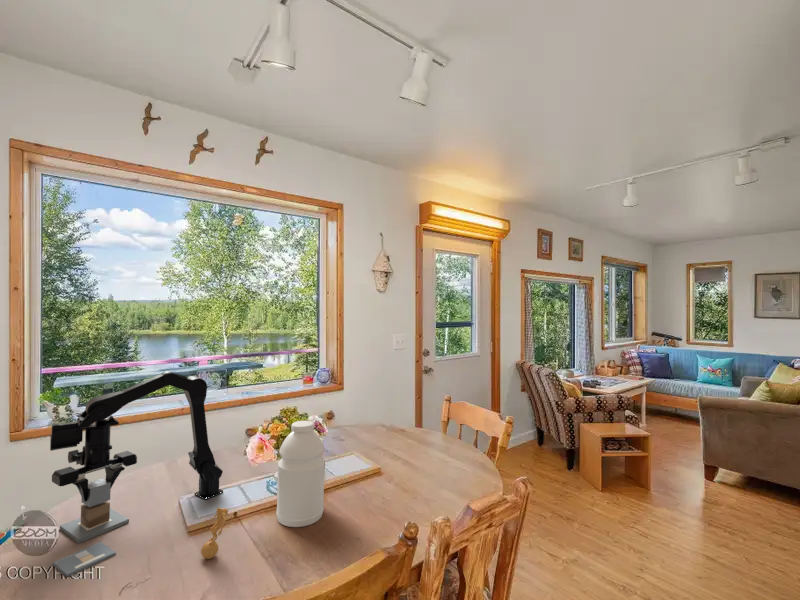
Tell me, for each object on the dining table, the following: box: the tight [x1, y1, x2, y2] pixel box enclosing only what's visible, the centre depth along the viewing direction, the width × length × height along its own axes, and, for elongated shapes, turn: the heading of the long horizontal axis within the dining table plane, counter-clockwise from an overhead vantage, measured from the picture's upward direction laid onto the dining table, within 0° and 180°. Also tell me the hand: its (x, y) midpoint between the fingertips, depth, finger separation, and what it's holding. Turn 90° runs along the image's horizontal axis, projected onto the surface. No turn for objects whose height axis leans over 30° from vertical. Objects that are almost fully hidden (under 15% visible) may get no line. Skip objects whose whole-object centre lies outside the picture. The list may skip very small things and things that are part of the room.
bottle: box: [275, 420, 326, 528], centre depth 121 cm, size 14×14×28 cm
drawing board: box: [52, 541, 117, 578], centre depth 98 cm, size 8×10×1 cm
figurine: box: [200, 507, 229, 560], centre depth 101 cm, size 8×6×12 cm
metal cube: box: [80, 477, 112, 507], centre depth 113 cm, size 5×5×5 cm
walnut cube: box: [80, 500, 111, 528], centre depth 113 cm, size 5×5×5 cm
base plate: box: [59, 507, 130, 544], centre depth 113 cm, size 12×12×1 cm
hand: (96, 497), depth 113 cm, fingers closed on metal cube, 5 cm apart
